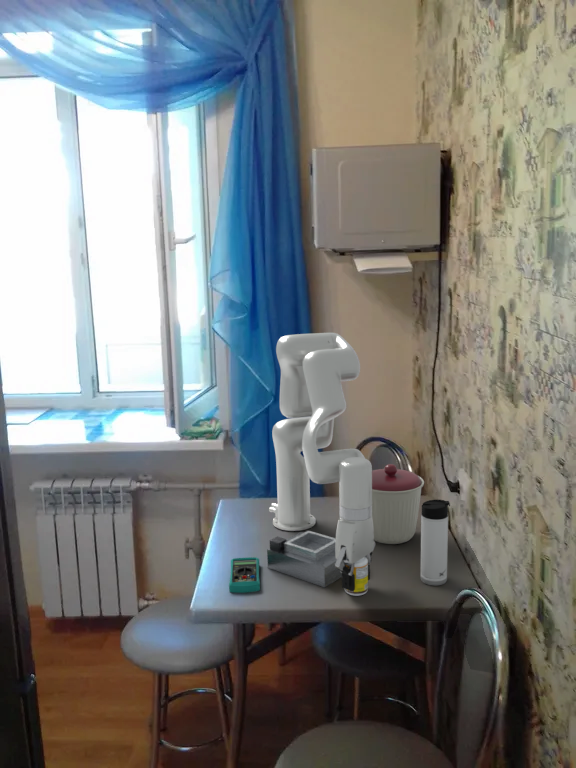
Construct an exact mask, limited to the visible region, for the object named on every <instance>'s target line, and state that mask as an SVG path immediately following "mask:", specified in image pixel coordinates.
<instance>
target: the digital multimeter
mask: <svg viewBox="0 0 576 768" xmlns="http://www.w3.org/2000/svg"><path fill="white" fill-rule="evenodd" d="M260 585H261V582H260V558H259V557H257V556H256V557H255V556H254V557H252V556H251V557H248V556H247V557H235V558H232V559H231V560H230V577H229V583H228V587H229V589H228V590H229V593H233V594H234V593H241V594H244V593H246V594H247V593H255V592H259V591H260V590H261V586H260Z"/></svg>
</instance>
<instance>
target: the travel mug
mask: <svg viewBox="0 0 576 768" xmlns="http://www.w3.org/2000/svg"><path fill="white" fill-rule="evenodd" d="M450 506H451V503H450V501H449V500H444V499H429V500H426V501H424V502H423V503H422V505H421V514H420V515H421V517H420V524H421V525H420V581H422V583H423V584H426V585H428V586H443V585H445V584H446V583H447V581H448V545H449V544H448V543H449V542H448V540H449V539H448V536H449V534H448V533H449V509H448V507H450Z"/></svg>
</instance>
